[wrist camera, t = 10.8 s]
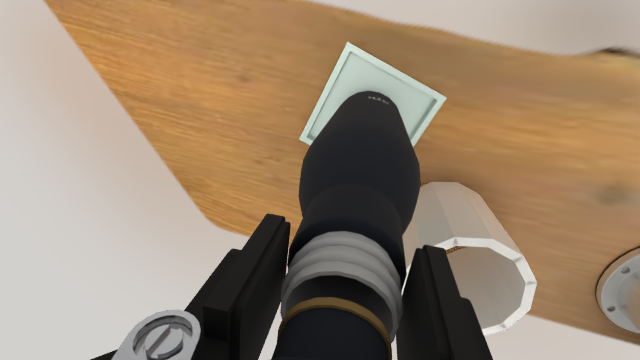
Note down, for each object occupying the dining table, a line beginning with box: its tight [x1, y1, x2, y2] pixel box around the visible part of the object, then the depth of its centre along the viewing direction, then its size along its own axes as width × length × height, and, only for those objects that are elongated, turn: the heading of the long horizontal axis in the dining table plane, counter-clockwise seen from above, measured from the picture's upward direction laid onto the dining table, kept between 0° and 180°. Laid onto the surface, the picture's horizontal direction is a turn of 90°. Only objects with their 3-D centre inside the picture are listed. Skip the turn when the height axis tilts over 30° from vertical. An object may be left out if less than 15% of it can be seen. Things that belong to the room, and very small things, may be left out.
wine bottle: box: [271, 91, 420, 360], centre depth 16 cm, size 6×6×30 cm
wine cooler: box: [401, 182, 537, 336], centre depth 32 cm, size 11×11×12 cm
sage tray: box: [299, 42, 446, 147], centre depth 33 cm, size 11×11×2 cm
